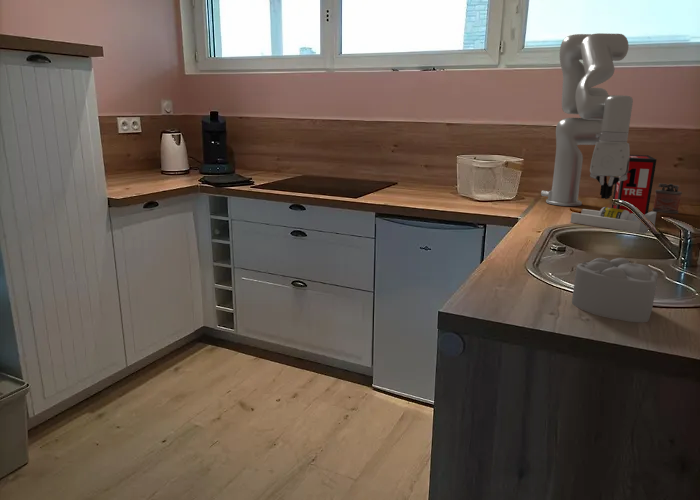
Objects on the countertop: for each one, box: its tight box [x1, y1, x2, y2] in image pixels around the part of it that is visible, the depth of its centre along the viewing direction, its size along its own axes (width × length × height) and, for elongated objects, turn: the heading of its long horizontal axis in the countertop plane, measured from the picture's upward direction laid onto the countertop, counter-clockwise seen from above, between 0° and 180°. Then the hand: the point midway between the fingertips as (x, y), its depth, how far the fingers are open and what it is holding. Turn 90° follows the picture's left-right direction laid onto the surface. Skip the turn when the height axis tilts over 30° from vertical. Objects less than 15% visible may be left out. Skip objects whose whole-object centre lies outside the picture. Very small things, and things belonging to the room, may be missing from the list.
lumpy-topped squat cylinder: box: [571, 257, 659, 323], centre depth 97 cm, size 10×13×9 cm
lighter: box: [652, 182, 683, 214], centre depth 191 cm, size 8×3×10 cm, turn 58°
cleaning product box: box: [611, 154, 657, 215], centre depth 181 cm, size 16×9×20 cm, turn 160°
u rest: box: [569, 208, 658, 234], centre depth 168 cm, size 22×10×5 cm, turn 48°
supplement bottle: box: [599, 206, 637, 221], centre depth 166 cm, size 5×5×10 cm
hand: (605, 198), depth 168 cm, fingers closed
